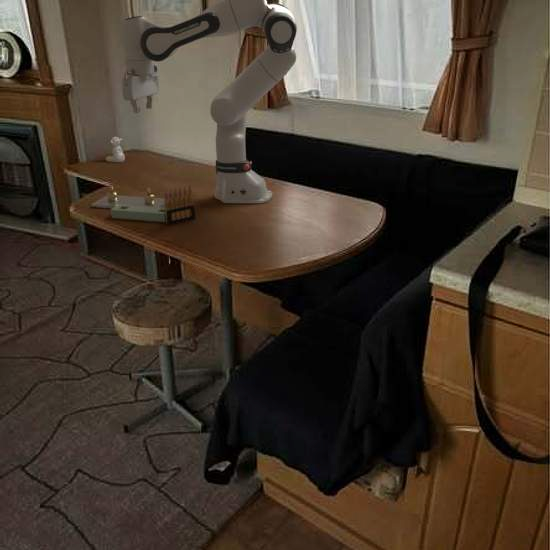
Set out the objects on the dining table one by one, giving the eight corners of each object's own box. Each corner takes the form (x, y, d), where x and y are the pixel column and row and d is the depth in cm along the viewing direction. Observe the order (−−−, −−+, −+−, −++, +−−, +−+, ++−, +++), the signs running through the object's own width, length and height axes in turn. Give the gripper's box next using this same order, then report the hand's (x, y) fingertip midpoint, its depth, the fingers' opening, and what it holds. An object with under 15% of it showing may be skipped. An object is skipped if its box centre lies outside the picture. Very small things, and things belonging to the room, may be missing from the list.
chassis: (170, 202, 205) (168, 184, 202) (157, 212, 194) (154, 193, 191) (108, 197, 210) (105, 180, 207) (91, 207, 200) (88, 189, 197)
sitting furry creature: (123, 158, 269) (120, 133, 264) (131, 161, 263) (128, 136, 258) (105, 161, 264) (102, 136, 259) (113, 164, 258) (109, 139, 253)
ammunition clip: (167, 225, 182) (164, 190, 177) (165, 223, 183) (161, 189, 178) (195, 218, 188) (193, 185, 182) (193, 217, 189) (190, 184, 184)
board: (177, 216, 190) (176, 208, 188) (170, 222, 184) (169, 214, 183) (120, 212, 194) (118, 204, 193) (111, 217, 189) (110, 209, 188)
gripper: (132, 71, 175) (137, 115, 181) (160, 66, 193) (163, 106, 199) (115, 71, 176) (120, 114, 182) (144, 66, 194) (148, 106, 200)
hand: (143, 110), depth 191 cm, fingers open, 8 cm apart
